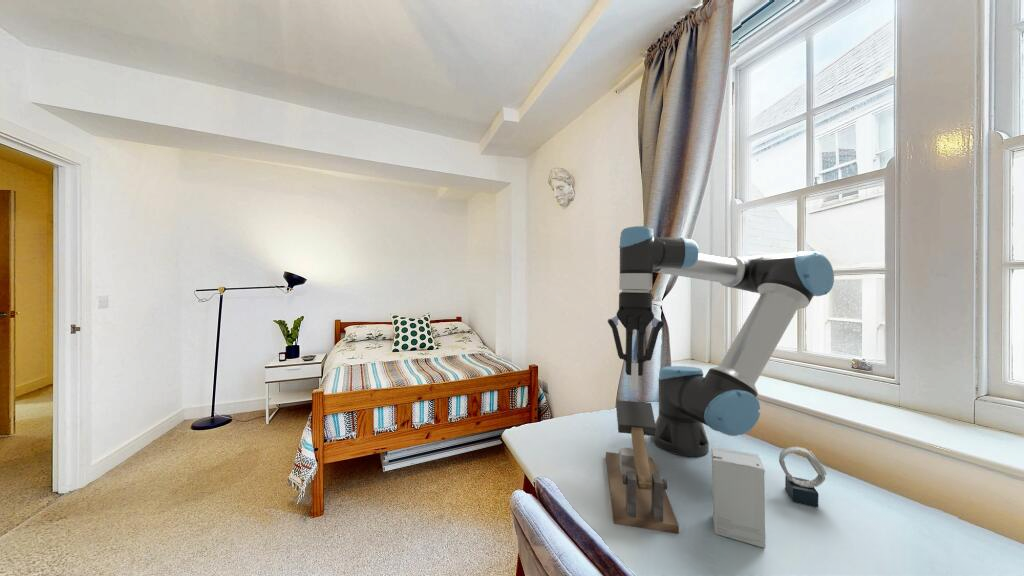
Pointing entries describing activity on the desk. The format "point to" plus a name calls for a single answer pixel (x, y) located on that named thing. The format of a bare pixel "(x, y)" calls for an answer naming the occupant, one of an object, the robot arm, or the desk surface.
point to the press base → (638, 495)
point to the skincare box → (738, 496)
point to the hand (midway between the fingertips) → (633, 388)
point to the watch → (803, 488)
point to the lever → (637, 435)
